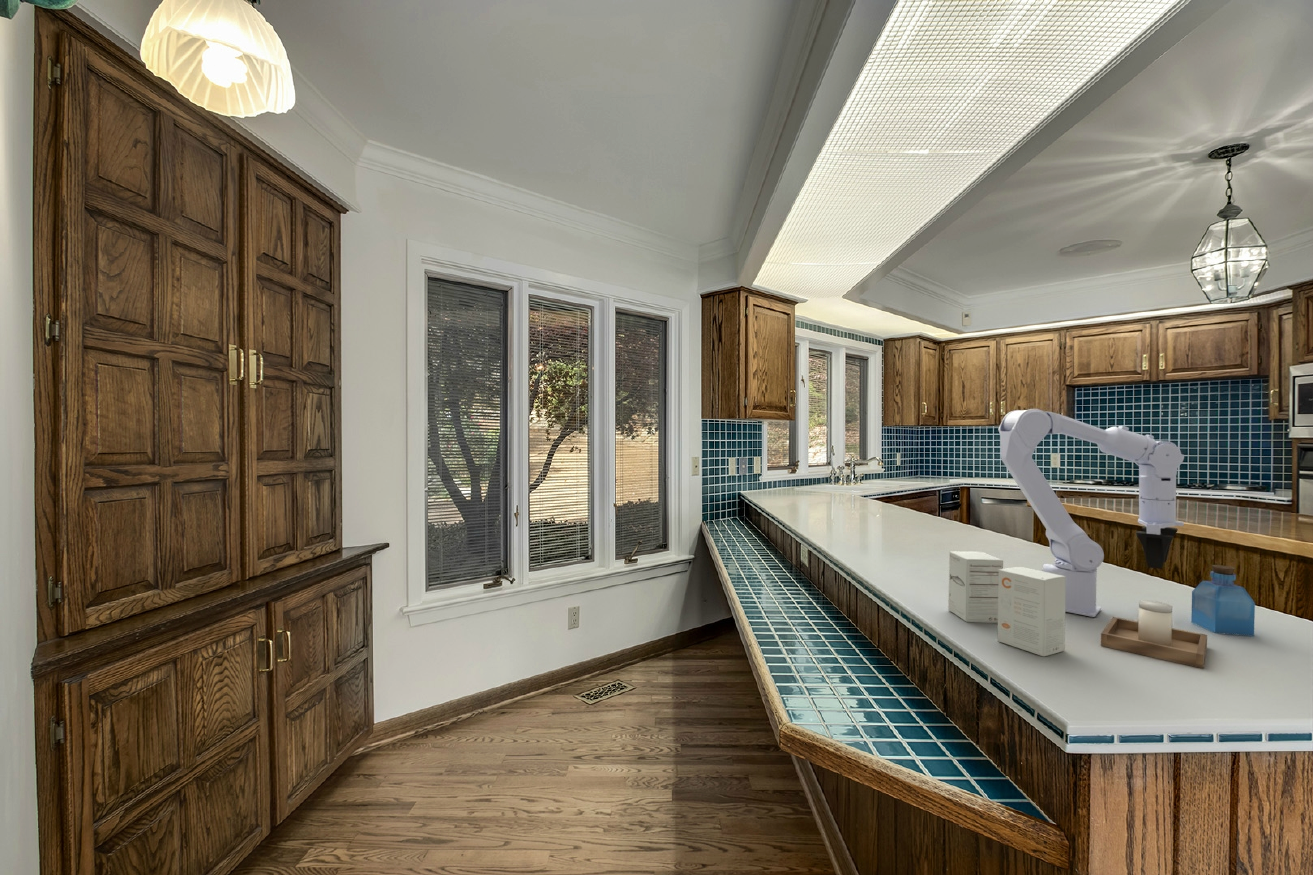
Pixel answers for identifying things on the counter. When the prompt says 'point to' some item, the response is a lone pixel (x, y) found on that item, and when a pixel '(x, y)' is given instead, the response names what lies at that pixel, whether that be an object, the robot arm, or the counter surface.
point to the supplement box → (974, 586)
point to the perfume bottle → (1223, 604)
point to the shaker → (1155, 622)
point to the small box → (1031, 610)
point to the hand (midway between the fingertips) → (1157, 564)
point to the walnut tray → (1182, 650)
